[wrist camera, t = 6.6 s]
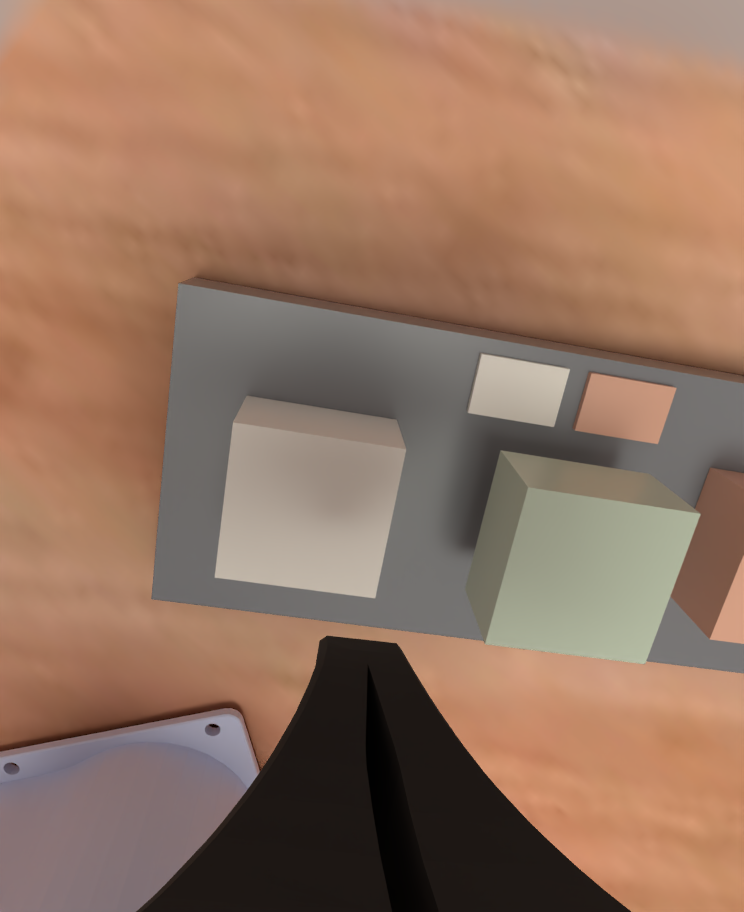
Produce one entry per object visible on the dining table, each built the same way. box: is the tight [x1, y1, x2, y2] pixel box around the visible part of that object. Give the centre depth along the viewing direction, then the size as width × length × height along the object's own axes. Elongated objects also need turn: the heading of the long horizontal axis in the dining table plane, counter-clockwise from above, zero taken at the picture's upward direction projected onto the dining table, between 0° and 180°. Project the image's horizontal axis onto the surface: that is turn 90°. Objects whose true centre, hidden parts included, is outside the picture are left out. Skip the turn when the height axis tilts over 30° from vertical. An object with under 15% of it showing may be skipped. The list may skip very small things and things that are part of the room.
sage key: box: [465, 450, 701, 664], centre depth 16 cm, size 4×4×2 cm
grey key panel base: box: [152, 277, 744, 673], centre depth 20 cm, size 21×9×2 cm, turn 80°
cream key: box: [215, 396, 406, 598], centre depth 17 cm, size 4×4×2 cm
